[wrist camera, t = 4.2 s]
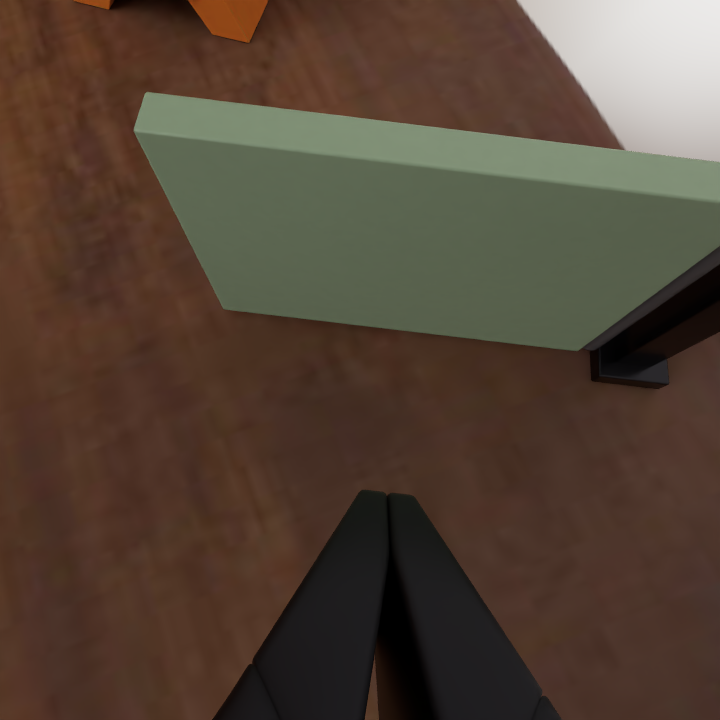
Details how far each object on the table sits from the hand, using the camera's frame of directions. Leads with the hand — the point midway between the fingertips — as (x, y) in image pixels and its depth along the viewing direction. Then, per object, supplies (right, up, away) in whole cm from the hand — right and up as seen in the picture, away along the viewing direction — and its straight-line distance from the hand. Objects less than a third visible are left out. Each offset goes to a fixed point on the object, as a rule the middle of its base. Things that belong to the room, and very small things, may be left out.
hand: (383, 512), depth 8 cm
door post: (+11, +3, +14) cm, 19 cm away
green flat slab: (+2, +5, +14) cm, 15 cm away
